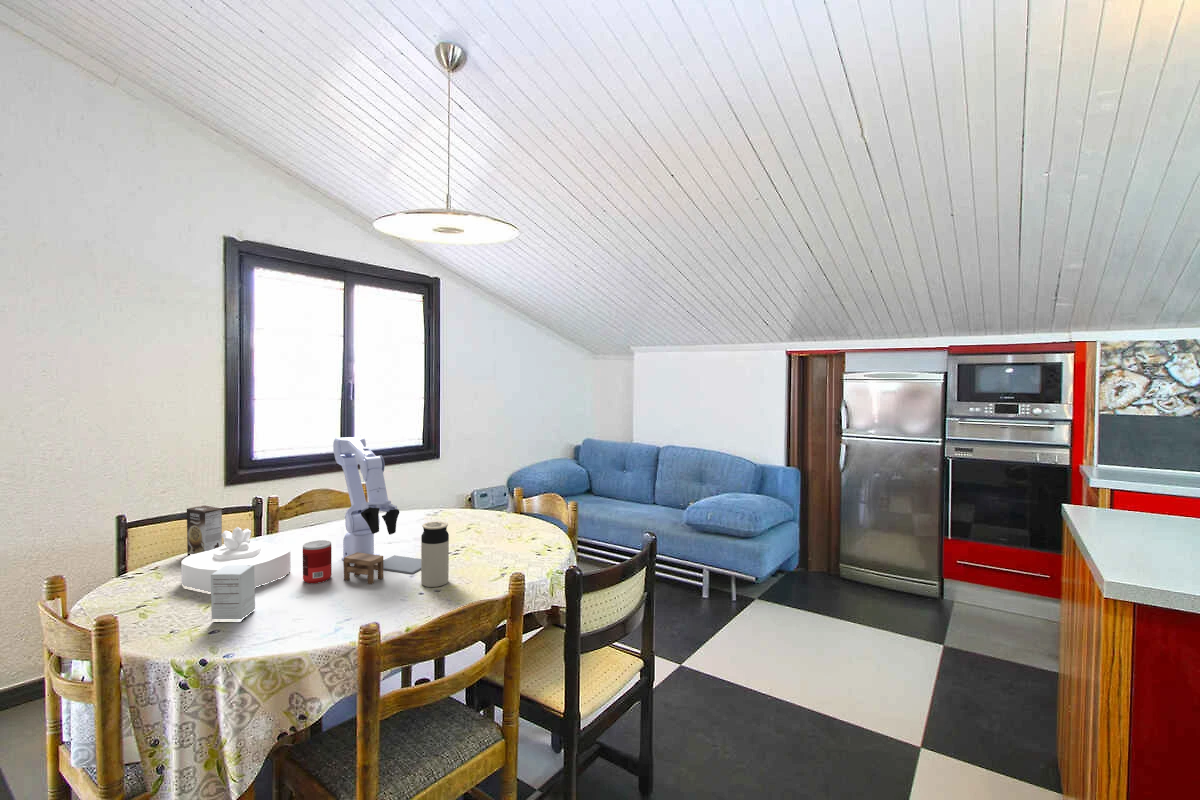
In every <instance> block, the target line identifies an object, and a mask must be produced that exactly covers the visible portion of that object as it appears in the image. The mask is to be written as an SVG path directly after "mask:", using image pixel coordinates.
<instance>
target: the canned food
mask: <svg viewBox="0 0 1200 800" xmlns="http://www.w3.org/2000/svg"><path fill="white" fill-rule="evenodd" d="M331 578H332V542H331V541H330V540H327V539H326V540H325V539H322V540H312V541H309V542H306V543H304V544H303V545H302V580H303V582H304V581H305V582H307V583H306V584H311V583H312V584H319V583H318V582H321V583H324V582H327V581H329V580H330V579H331ZM328 579H329V580H328ZM326 580H327V581H326ZM323 581H324V582H323ZM305 582H304V583H305Z"/></svg>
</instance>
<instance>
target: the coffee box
mask: <svg viewBox="0 0 1200 800" xmlns="http://www.w3.org/2000/svg"><path fill="white" fill-rule="evenodd" d="M222 509H223V508H221V507H217V506H216V507H215V506H210V505H205V504H204V505H200V506H193V507H189V508H188V507H187V508H186V540H187V541H186V546H187V547H186V548H187V549H186V550H187V552H186V553H187V555H188V554H197V553H201V552H205V551H210V550H213V549H215V548H218V547H221V546H223V545H222V543H223V542H222V541H223V537H222V536H221V534H222V533H223V532H222V531H223V526H222V525H223V523H222V522H223V521H222V520H223V517H222V515H223V510H222Z"/></svg>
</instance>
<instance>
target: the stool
mask: <svg viewBox="0 0 1200 800" xmlns="http://www.w3.org/2000/svg"><path fill="white" fill-rule="evenodd" d="M383 560H384V555H380V554H379V555H373V554H366V553H359V552H356V553H354V554H351V555H349V556H346V557H344V560H343V581H346V580H347V581H349V580H348V579H351V573H352V574H353V575H354V576H355V575H358V576H360V575H366V576H367V584H368V585H373V584H374V583H375V582H374V581H375V580H374V579H375V576H374V574H375V572H374V571H377V580H383V579H384V570H383ZM377 563H378V564H377ZM351 564H353V565H351ZM382 578H383V579H382ZM372 583H373V584H372Z"/></svg>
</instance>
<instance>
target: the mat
mask: <svg viewBox="0 0 1200 800" xmlns="http://www.w3.org/2000/svg"><path fill="white" fill-rule="evenodd" d="M377 564H378V563H377ZM388 570H389V571H388ZM383 571H388V572H394V571H396V573H401V572H402V574H408V573H409V575H413V574H415V573H417V572H420V571H421V558H418V557H417V558H416V557H409V556H400V555H395V554H394V555H391V556H390V557H388V558H386V559H383Z"/></svg>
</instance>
